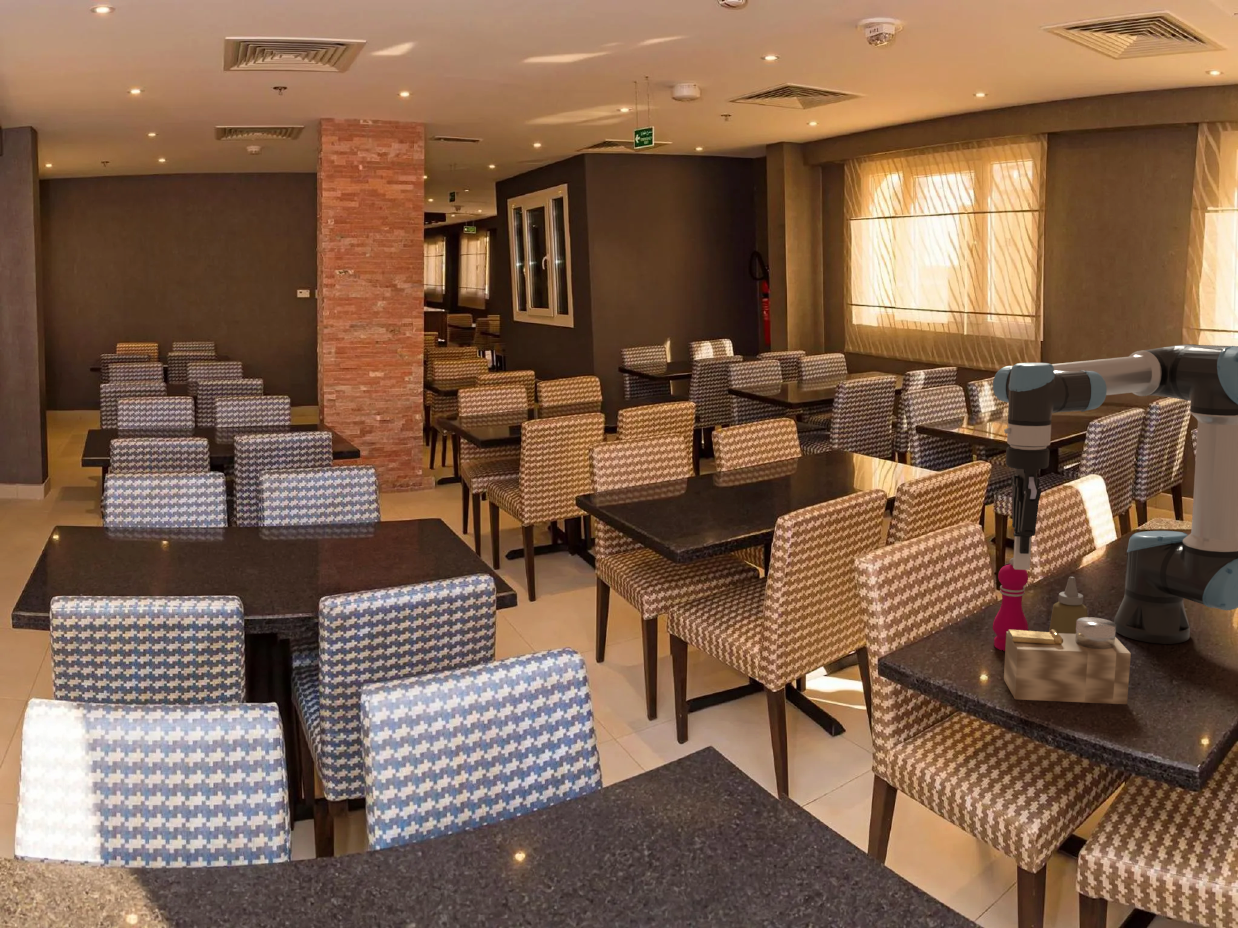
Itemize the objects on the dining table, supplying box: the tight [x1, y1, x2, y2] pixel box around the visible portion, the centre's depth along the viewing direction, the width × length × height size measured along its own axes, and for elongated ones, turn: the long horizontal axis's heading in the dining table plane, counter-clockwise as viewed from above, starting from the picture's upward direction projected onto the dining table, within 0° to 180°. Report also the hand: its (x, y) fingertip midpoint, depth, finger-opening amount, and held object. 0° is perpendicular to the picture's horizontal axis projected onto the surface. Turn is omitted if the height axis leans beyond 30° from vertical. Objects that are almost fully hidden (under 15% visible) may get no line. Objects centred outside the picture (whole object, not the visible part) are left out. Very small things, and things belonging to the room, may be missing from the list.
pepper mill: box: [992, 557, 1029, 652], centre depth 220 cm, size 7×7×20 cm
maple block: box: [1003, 631, 1132, 705], centre depth 196 cm, size 20×10×10 cm, turn 81°
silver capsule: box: [1075, 616, 1116, 649], centre depth 195 cm, size 7×7×12 cm
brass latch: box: [1008, 629, 1063, 645], centre depth 196 cm, size 9×4×2 cm, turn 81°
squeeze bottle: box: [1048, 576, 1089, 634], centre depth 211 cm, size 8×8×18 cm
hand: (1021, 568), depth 195 cm, fingers closed
